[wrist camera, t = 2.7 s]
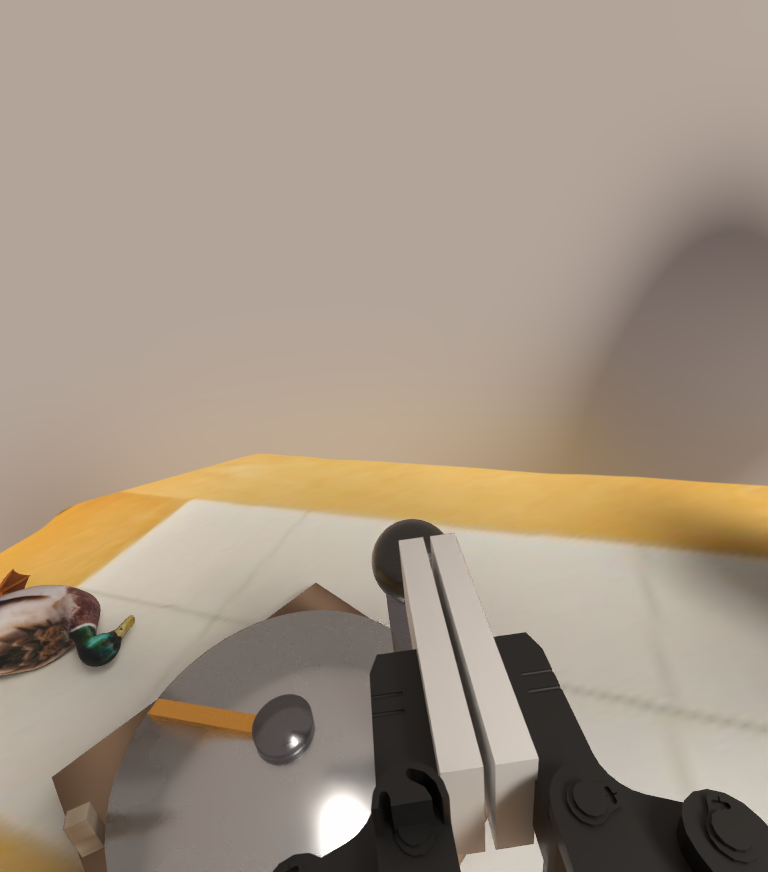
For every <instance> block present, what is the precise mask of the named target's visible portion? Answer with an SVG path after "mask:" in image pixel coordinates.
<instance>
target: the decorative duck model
mask: <svg viewBox="0 0 768 872" xmlns="http://www.w3.org/2000/svg"><path fill="white" fill-rule="evenodd" d="M29 576H30V575H29ZM29 576H28V575H22V574H18V573H16V572H15V571H14V569H13V570H12V571H11V572H10V573H9V574H8V575H7V576H6V577H5V578H4V580H3V581H2V583H1V584H0V676H1V675H7V674H13V673H19V672H25V671H29V670H34V669H37V668H39V667H42V666H44V665H46V664H48V663H50V662H52V661H53V660H55V659H57V658H58V657H59V656H61V655H62V654H63V653H65V652H66V651H67V650H68V649H70V648H71V647H72V646H73V645H74V644H76V647H77V651H78V654H79V657H80V659H81V660H82V661H83V662H84V663H85V664H87V665H89V666H102V665H105V664H107V663H109V662H110V661H111V660H112V659H113V658H114V657H115V656H116V654H117V653H118V651H119V649H120V645H121V640H122V638H123V636H124V635H125V633H126V632H127V631H128V630H129V629H130V628H131V627H132V626H133V624H134V623H135V618H134V616H133V615H131V616H129V617H128V618H127V619H126V620H125V621H124V622H123V623H122V624H121V625H120V626H119V627H118V628H117V629H116V630H114V631H111V632H109V633H103V634H99V635H96V630H97V625H98V621H99V617H100V605H99V603H98V601H97V599H96V598H95V597H94V596H93V595H91V594H89V593H87V592H85V591H82V590H79V589H77V588H73V587H70V586H62V585H41V586H35V587H31V588H26V589H24V588H25V585H26V583H27V580H28V578H29Z"/></svg>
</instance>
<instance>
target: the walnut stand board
mask: <svg viewBox="0 0 768 872" xmlns="http://www.w3.org/2000/svg"><path fill="white" fill-rule="evenodd" d="M314 610H330V611H341V612H347V613H353V614H356V615H360V616H363V617H366V616H365V615H363V614H362V613H360V612H359V611H358V610H356V609H355V608H353V607H352V606H350V605H349V604H347V603H346V602H344V601H343V600H341V599H340V598H338V597H337V596H335V595H334V594H332V593H331V592H329V591H328V590H326V589H325V588H323V587H322V586H320V585H319V584H317V583H315V584H314V585H312V586H311V587H310V588H308V589H307V590H305V591H304V592H303V593H301V594H300V595H299V596H297V597H296V598H295V599H293V600H292V601H291V602H289V603H288V604H286V605H285V606H284V607H282V608H281V609H280V610H278V611H277V612H276V613H274V614H273V615H272V616H270V617H269V618H267V619H266V620H268V619H271V618H273V617H277V616H281V615H285V614H289V613H296V612H302V611H314ZM367 618H368V617H367ZM156 701H157V700H156ZM156 701H155V702H156ZM155 702H153V703H152V704H151V705H149V706H148V707H147V708H145V709H144V710H143V711H141V712H140V713H138V714H137V715H136V716H134V717H133V718H132V719H130V720H129V721H128V722H126V723H125V724H124V725H122V726H121V727H119V728H118V729H117V730H115V731H114V732H113V733H111V734H110V735H109V736H107V737H106V738H104V739H103V740H102V741H100V742H99V743H98V744H96V745H95V746H94V747H92V748H91V749H90V750H88V751H87V752H85V753H84V754H83V755H81V756H80V757H79V758H77V759H76V760H75V761H73V762H72V763H71V764H69V765H68V766H66V767H65V768H64V769H62V770H61V771H60V772H58V773H57V774H56V775H54V776H53V777H52V779H53V782H54V785H55V788H56V790H57V793H58V796H59V799H60V802H61V805H62V807H63V810H64V813H65V816H66V819H65V823H64V828H63V831H64V832H65V833H66V835H67V836H68V838H69V839H70V840H71V842H72V843H73V845H74V846H75V848H76V849H77V850H78V853H79V856H80V858H81V861H82V864H83V867H84V870H85V872H107V865H106V856H105V821H106V815H107V809H108V803H109V797H110V794H111V790H112V787H113V783H114V780H115V776H116V773H117V770H118V768H119V766H120V763H121V761H122V758H123V756H124V753H125V751H126V749H127V747H128V745H129V743H130V741H131V739H132V737H133V735H134V734H135V732H136V730H137V728H138V727H139V725H140V723H141V722H142V720H143V719H144V717H145V716H146V714H147V713H148V711H149V710H150V708H151V707H152V706H153V704H154V703H155ZM484 817H485V821H486V820H487V818H488V816H487V812H486V808H485V804H484ZM465 855H466V854H465ZM465 855H459V856H458V860H459V866H460V864H461V862H462V860H463V859H464V857H465Z"/></svg>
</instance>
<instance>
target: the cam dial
mask: <svg viewBox="0 0 768 872" xmlns="http://www.w3.org/2000/svg"><path fill="white" fill-rule="evenodd" d="M436 535H443V532H441V531H440V530H439V529H438V528H437V527H435V526H434V525H432V524H430V523H428V522H425V521H422V520H417V519H408V520H402V521H399V522H397V523H395V524H393V525H391V526H390V527H388V528H387V529H386V530H385V531H384V532H383V533H382V534H381V535H380V537H379V538H378V540H377V542H376V544H375V546H374V550H373V554H372V569H373V573H374V576H375V579H376V581H377V583H378V585H379V586H380V588H381V589H382V590H383V591H384V592H385V593H386V597H387V604H388V612H389V620H390V627H391V629H390V628H388V627H386V626H384V625H383V624H381V623H379V622H376V621H374V620H372V619H369V618H367V617H363V616H360V615H356V614H353V613H347V612H341V611H330V610H314V611H302V612H296V613H289V614H285V615H281V616H277V617H273V618H271V619H268V620H265V621H262V622H259V623H256V624H254V625H252V626H250V627H247V628H245V629H243V630H241V631H239V632H237V633H235V634H233V635H232V636H230V637H228V638H226V639H224V640H223V641H221V642H220V643H218V644H217V645H215V646H214V647H212V648H211V649H209V650H208V651H207V652H205V653H204V654H203V655H202V656H200V657H199V658H198V659H196V660H195V661H194V662H193V663H192V664H190V665H189V666H188V667H187V668H186V669H185V670H184V671H183V672H182V673H181V674H180V675H179V676H178V677H177V678H176V679H175V680H174V681H173V682H172V683H171V684H170V685H169V686H168V687H167V688H166V690H165V691H164V692H163V693H162V694H161V695H160V697H159V698H158V699H157V701H156V702H155V703H154V704H153V706H152V707H151V708H150V710H149V711H148V713H147V714H146V716H145V717H144V719H143V720H142V722H141V723H140V725H139V727H138V728H137V730H136V732H135V734H134V735H133V737H132V739H131V741H130V743H129V745H128V747H127V749H126V751H125V753H124V756H123V758H122V761H121V763H120V766H119V768H118V770H117V773H116V776H115V780H114V783H113V787H112V790H111V794H110V797H109V803H108V809H107V815H106V821H105V856H106V865H107V872H273V870H274V869H275V868H276V867H277V866H278V864H279V863H281V862H282V861H284V860H286V859H287V858H289V857H291V856H292V855H294V854H302V853H311V854H313V855H316V856H318V857H323V856H324V855H326V854H328V853H329V852H331V851H333V850H334V849H336V848H338V847H339V846H341V845H343V844H344V843H346V842H348V841H349V840H350V839H351V838H353V837H354V836H355V835H357V834H358V833H359V831H360V830H361V829H362V828H363V826H364V825H365V824H366V822H367V820H368V818H369V816H370V814H371V804H372V795H373V791H374V789H375V787H376V781H375V763H374V745H373V728H372V710H371V693H370V675H369V674H370V671H371V669H372V666H373V663H374V661H375V658H376V655H378V654H385V653H392V652H399V651H406V650H413V648H412V642H411V636H410V630H409V624H408V618H407V612H406V605H405V596H404V586H403V577H402V568H401V559H400V550H399V540H406V539H413V538H421V537H423V539H424V543H425V546H426V550H427V554H428V558H429V562H430V565H431V569H432V557H431V543H430V536H436ZM432 573H433V571H432Z"/></svg>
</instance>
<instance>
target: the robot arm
mask: <svg viewBox="0 0 768 872" xmlns="http://www.w3.org/2000/svg"><path fill="white" fill-rule="evenodd" d="M430 543H431V557H432V569H431V565H430V562H429V558H428V554H427V550H426V546H425V543H424V539H423V537H421V538H413V539H406V540H399V550H400V559H401V568H402V577H403V586H404V596H405V605H406V612H407V618H408V624H409V630H410V636H411V642H412V648H413V650H406V651H399V652H392V653H385V654H378V655H376V658H375V661H374V663H373V666H372V669H371V671H370V674H369V675H370V693H371V710H372V728H373V745H374V763H375V781H376V787H375V789H374V791H373V795H372V804H371V814H370V816H369V818H368V820H367V822H366V824H365V825H364V826H363V828H362V829H361V830H360V831H359V833H358V834H357V835H355V836H354V837H353V838H351V839H350V840H349V841H348V842H346V843H344V844H343V845H341V846H339V847H338V848H336V849H334V850H333V851H331V852H329V853H328V854H326V855H324V856H323V857H318V856H316V855H313V854H311V853H302V854H294V855H292V856H291V857H289V858H287V859H286V860H284V861H282V862H281V863H279V864H278V866H277V867H276V868H275V869H274V870H273V872H461V871H460V866H459V860H458V856H459V855H465V854H472V853H478V852H485V817H484V804H485V808H486V812H487V816H488V820H489V824H490V828H491V832H492V836H493V840H494V844H495V848H496V850H497V849H504V848H510V847H516V846H523V845H529V844H534V831H535V834H536V838H537V841H538V844H539V847H540V850H541V853H542V856H543V859H544V864H543V872H768V826H767V825H766V824H765V822H764V821H763V820H762V819H761V818H760V817H759V816H757V815H756V814H755V813H754V812H753V811H752V810H751V809H749V808H748V807H747V806H746V805H745V804H744V803H742V802H740V801H738V800H737V799H735V798H733V797H731V796H729V795H727V794H725V793H723V792H718V791H713V790H709V789H705V790H699V791H694V792H692V793H691V794H690V795H689V796H688V797H687V798H686V799H685V800H684V803H683V802H678V801H674V800H669V799H664V798H660V797H655V796H650V795H646V794H643V793H640V792H637V791H633V790H631V789H629V788H627V787H626V786H624V785H622V784H620V783H619V782H618V781H616V780H615V779H614V778H613V777H611V776H610V775H609V774H608V773H607V772H606V771H605V770H604V769H603V767H602V766H601V765H600V764H599V763H598V761H597V759H596V758H595V756H594V754H593V753H592V751H591V749H590V747H589V745H588V742H587V740H586V738H585V736H584V734H583V732H582V730H581V728H580V726H579V724H578V722H577V720H576V718H575V716H574V713H573V711H572V709H571V707H570V705H569V703H568V701H567V699H566V697H565V695H564V693H563V691H562V689H561V688H560V684H559V682H558V680H557V678H556V676H555V674H554V672H552V668H551V666H550V664H549V662H548V660H547V658H546V655H545V653H544V651H543V649H542V648H541V647H540V646H539V645H538V644H537V643H536V642H535V641H534V640H533V639H532V638H531V637H530V636H529V635H528V634H527V633H526V632H525V633H518V634H511V635H504V636H497V637H493V635H492V632H491V629H490V627H489V624H488V621H487V619H486V616H485V613H484V611H483V608H482V605H481V603H480V600H479V597H478V595H477V592H476V589H475V587H474V584H473V581H472V579H471V576H470V573H469V571H468V568H467V565H466V563H465V560H464V557H463V555H462V552H461V549H460V547H459V544H458V541H457V539H456V536H455V533H451V534H443V535H436V536H430ZM432 571H433V573H432Z"/></svg>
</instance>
